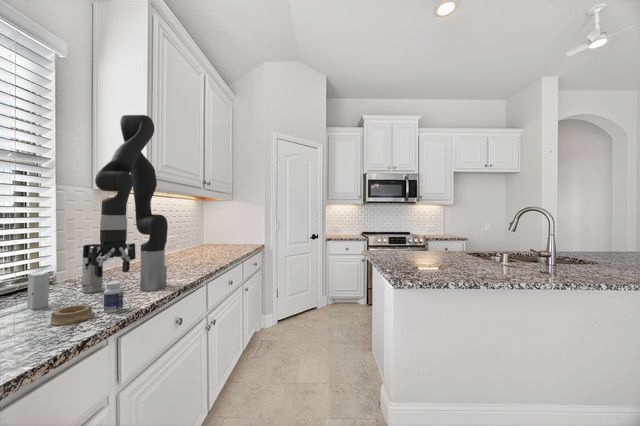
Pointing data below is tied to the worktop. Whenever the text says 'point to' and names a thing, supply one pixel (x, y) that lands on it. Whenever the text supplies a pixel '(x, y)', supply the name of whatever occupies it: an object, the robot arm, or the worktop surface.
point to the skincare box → (38, 290)
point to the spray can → (90, 273)
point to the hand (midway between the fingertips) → (112, 274)
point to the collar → (71, 314)
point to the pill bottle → (113, 297)
